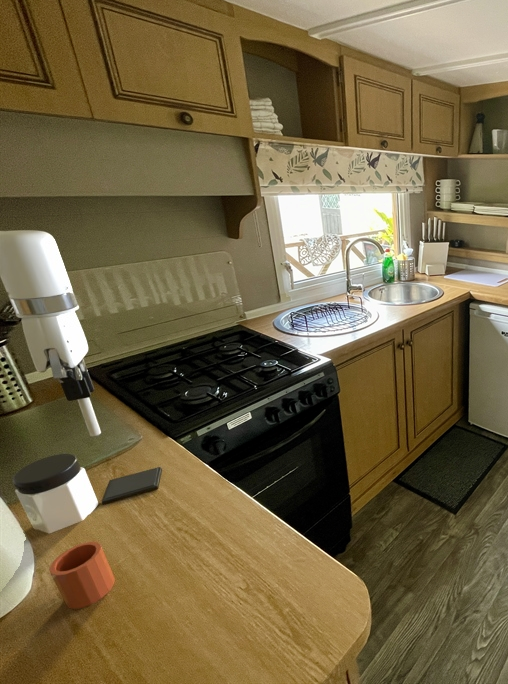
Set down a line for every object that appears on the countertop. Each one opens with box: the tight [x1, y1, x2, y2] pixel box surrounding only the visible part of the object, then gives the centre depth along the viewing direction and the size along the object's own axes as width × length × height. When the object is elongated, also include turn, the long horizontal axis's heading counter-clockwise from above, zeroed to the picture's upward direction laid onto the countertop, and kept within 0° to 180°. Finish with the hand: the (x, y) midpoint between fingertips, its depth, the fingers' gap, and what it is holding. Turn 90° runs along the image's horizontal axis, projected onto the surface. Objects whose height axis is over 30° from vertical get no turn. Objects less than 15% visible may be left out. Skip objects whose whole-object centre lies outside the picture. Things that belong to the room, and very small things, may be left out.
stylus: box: [67, 369, 102, 438], centre depth 72 cm, size 2×2×15 cm
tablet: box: [101, 466, 163, 506], centre depth 81 cm, size 9×7×1 cm
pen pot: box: [48, 541, 116, 610], centre depth 58 cm, size 6×6×8 cm
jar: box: [12, 453, 100, 535], centre depth 71 cm, size 9×8×12 cm
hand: (81, 395), depth 71 cm, fingers closed on stylus, 1 cm apart
